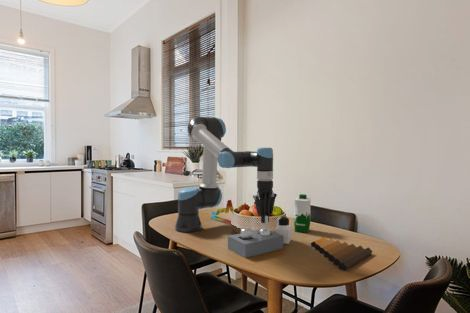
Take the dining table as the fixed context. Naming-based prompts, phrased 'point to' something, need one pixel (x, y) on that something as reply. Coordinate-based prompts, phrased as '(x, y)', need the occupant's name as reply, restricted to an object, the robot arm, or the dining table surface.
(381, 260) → the dining table surface
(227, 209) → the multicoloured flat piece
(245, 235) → the steel peg
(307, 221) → the milk carton
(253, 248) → the peg block
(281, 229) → the medicine bottle
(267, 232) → the steel peg
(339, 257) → the pan flute
